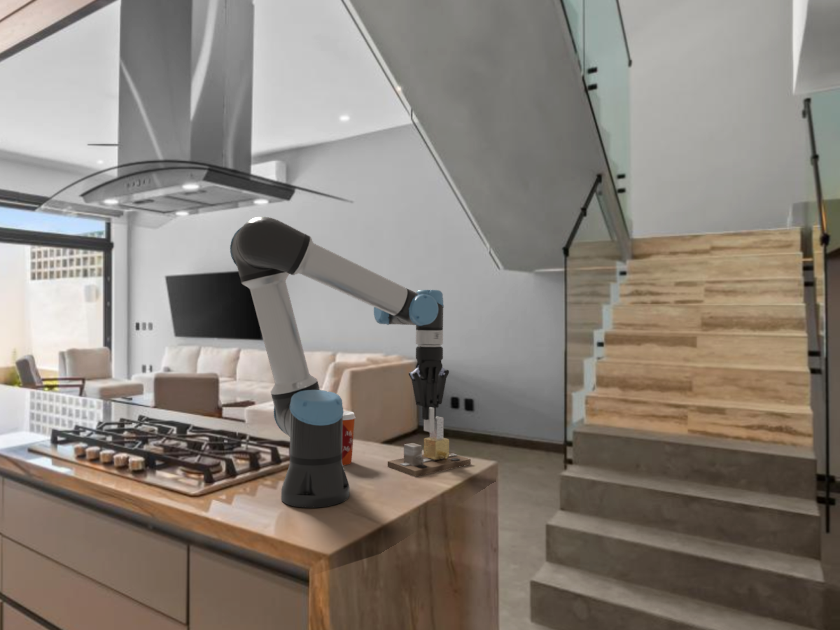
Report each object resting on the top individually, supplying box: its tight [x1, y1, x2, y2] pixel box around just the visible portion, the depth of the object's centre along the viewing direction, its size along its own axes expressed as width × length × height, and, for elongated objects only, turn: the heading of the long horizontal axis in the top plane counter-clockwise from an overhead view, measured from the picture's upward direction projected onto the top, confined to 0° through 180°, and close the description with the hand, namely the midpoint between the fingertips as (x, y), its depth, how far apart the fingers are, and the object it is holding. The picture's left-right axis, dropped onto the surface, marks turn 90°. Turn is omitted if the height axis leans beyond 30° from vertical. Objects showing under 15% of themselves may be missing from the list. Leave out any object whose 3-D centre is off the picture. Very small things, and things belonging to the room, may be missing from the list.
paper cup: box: [342, 410, 357, 466], centre depth 154 cm, size 8×8×14 cm
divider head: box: [423, 415, 450, 460], centre depth 153 cm, size 5×7×11 cm
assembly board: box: [387, 442, 472, 478], centre depth 152 cm, size 20×12×6 cm, turn 129°
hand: (428, 430), depth 152 cm, fingers closed
